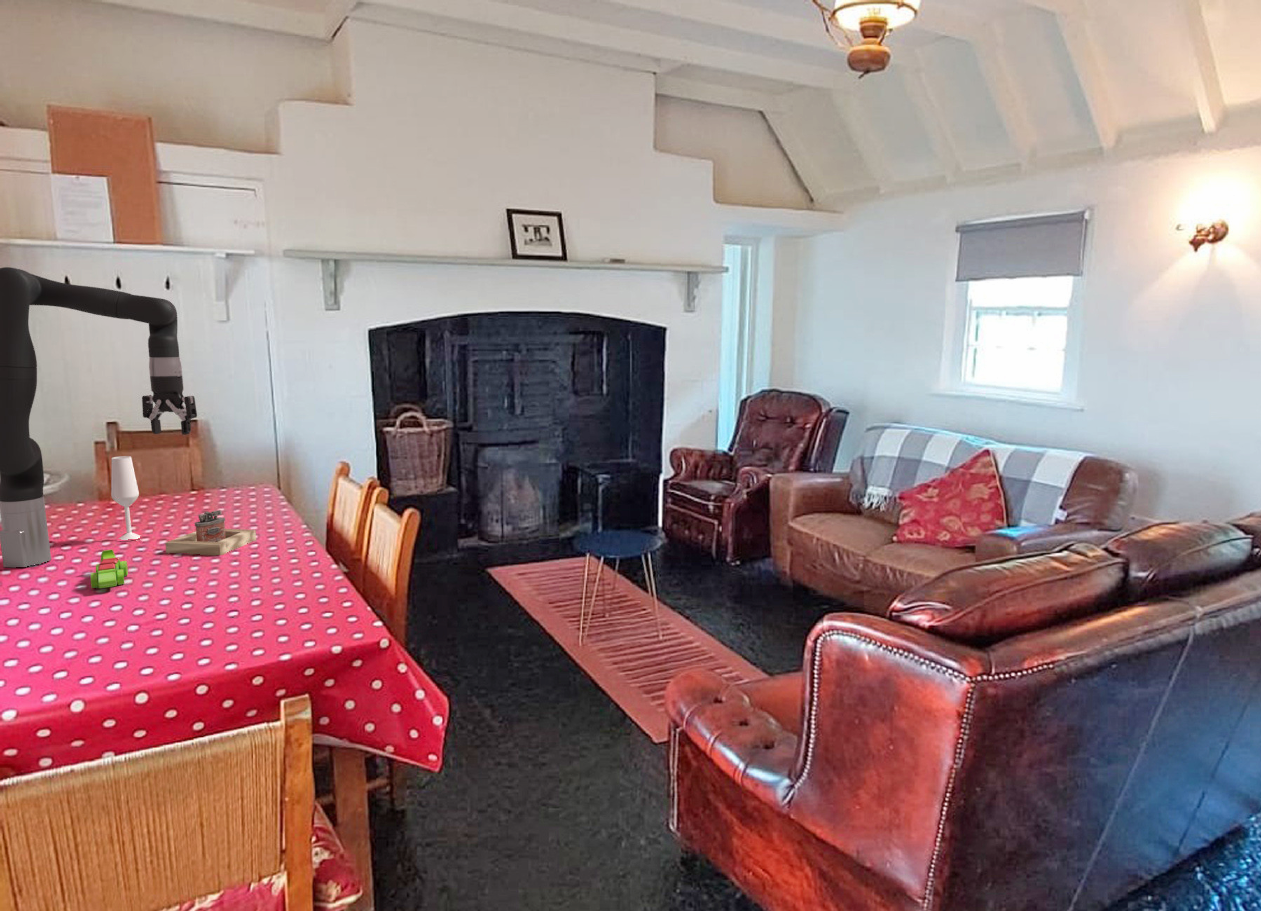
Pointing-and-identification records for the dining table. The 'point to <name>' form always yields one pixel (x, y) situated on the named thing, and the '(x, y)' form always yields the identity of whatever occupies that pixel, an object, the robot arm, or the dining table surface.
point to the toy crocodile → (109, 571)
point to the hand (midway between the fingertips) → (171, 434)
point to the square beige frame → (211, 543)
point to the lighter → (210, 527)
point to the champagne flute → (124, 489)
